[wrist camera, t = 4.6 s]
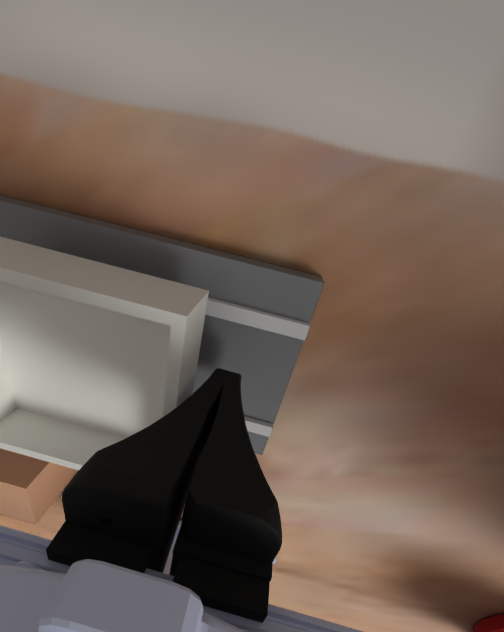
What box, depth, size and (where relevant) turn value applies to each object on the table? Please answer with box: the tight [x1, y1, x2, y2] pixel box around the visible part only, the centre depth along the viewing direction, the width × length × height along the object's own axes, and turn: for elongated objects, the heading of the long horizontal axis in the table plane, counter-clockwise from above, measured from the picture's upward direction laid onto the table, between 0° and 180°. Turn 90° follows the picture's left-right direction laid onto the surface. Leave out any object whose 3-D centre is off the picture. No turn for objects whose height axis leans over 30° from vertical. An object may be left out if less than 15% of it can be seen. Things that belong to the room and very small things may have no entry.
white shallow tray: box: [0, 237, 209, 470], centre depth 12 cm, size 10×10×4 cm
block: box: [0, 448, 78, 525], centre depth 18 cm, size 4×4×5 cm
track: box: [0, 195, 324, 455], centre depth 14 cm, size 22×12×3 cm, turn 78°
